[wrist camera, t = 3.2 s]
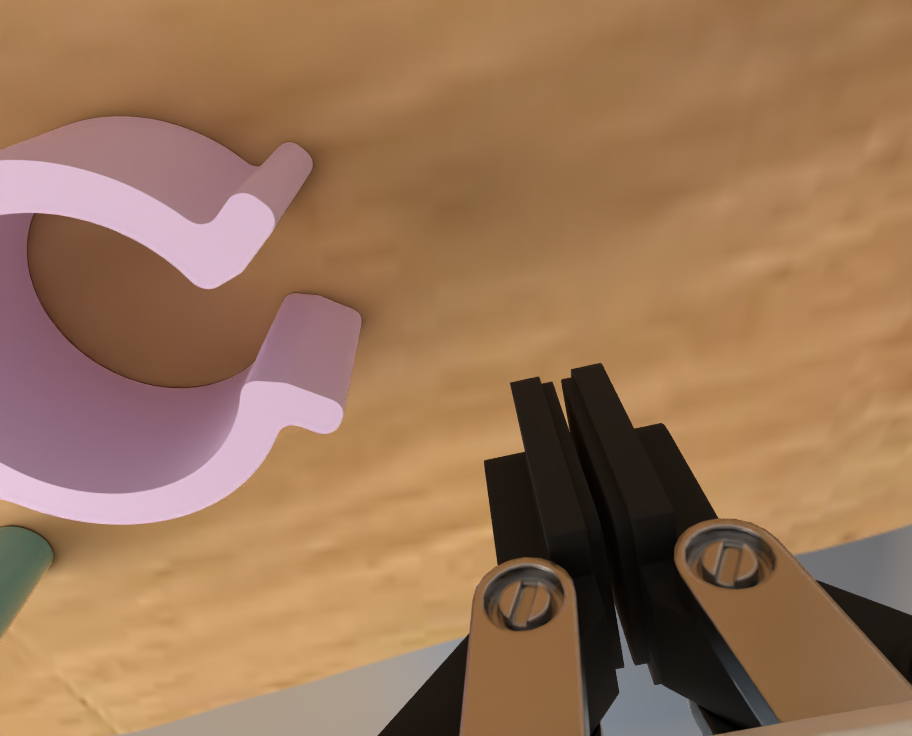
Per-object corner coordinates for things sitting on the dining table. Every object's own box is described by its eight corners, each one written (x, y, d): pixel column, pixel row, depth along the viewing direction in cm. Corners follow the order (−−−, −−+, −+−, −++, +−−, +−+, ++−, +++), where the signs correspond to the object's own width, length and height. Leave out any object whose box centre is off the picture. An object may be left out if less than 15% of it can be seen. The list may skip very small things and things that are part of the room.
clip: (-47, 465, 30) (-165, 583, 24) (-245, 198, 24) (-469, 267, 18) (380, 378, 29) (368, 481, 23) (284, 71, 23) (233, 101, 17)
